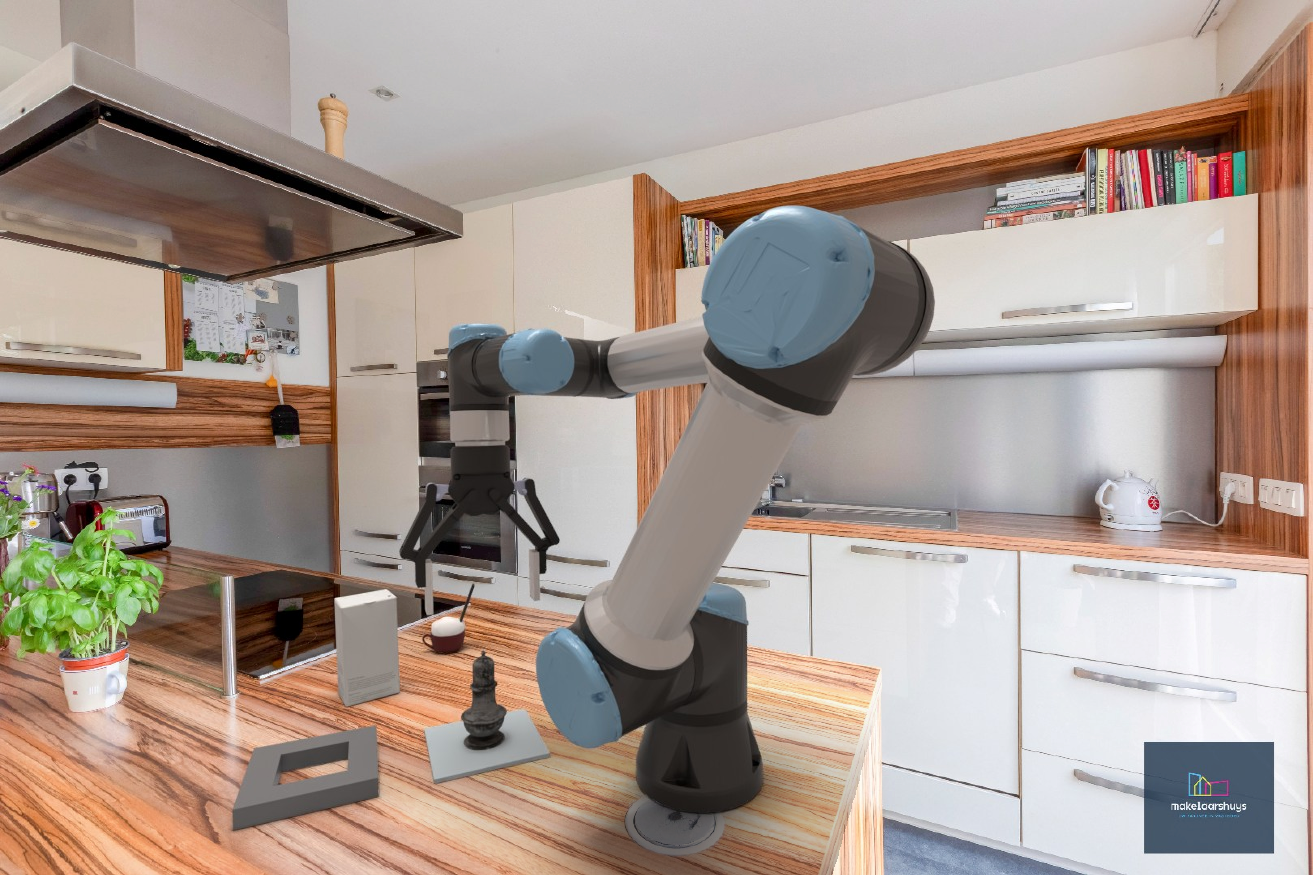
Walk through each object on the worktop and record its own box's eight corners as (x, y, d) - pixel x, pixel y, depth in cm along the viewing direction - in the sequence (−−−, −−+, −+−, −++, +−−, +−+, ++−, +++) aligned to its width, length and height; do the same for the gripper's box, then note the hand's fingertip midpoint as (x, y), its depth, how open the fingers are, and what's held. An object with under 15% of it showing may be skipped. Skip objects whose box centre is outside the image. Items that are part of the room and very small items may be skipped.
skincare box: (391, 680, 105) (389, 587, 105) (401, 694, 100) (399, 596, 99) (335, 694, 100) (333, 596, 100) (343, 708, 95) (341, 605, 94)
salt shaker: (460, 754, 80) (459, 660, 80) (461, 732, 86) (460, 645, 86) (508, 747, 82) (506, 655, 82) (506, 726, 87) (505, 640, 87)
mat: (550, 756, 80) (550, 752, 80) (434, 783, 75) (434, 779, 75) (525, 711, 93) (525, 708, 93) (424, 731, 87) (424, 728, 87)
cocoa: (419, 657, 117) (414, 593, 116) (434, 644, 123) (430, 583, 122) (469, 656, 116) (464, 592, 115) (482, 643, 122) (477, 582, 121)
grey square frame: (378, 796, 72) (378, 777, 72) (232, 830, 66) (232, 809, 66) (376, 741, 85) (376, 724, 85) (254, 765, 79) (254, 748, 79)
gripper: (564, 441, 92) (567, 587, 92) (376, 446, 81) (380, 610, 82) (580, 442, 85) (583, 599, 85) (377, 447, 74) (381, 626, 75)
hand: (483, 605), depth 83 cm, fingers open, 13 cm apart
